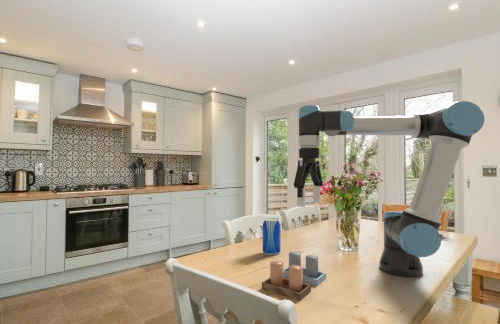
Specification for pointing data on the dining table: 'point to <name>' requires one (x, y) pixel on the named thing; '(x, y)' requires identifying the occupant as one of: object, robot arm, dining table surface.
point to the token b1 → (294, 258)
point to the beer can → (271, 236)
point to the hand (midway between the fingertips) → (309, 204)
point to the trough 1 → (286, 289)
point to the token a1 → (276, 273)
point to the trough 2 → (308, 279)
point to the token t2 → (295, 278)
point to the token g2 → (312, 266)
